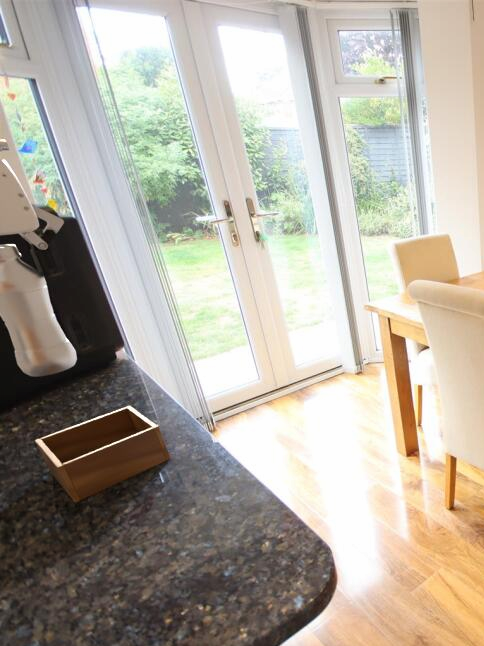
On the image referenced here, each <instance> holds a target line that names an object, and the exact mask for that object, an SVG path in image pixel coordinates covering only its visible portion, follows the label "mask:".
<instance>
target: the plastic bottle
mask: <svg viewBox="0 0 484 646" xmlns="http://www.w3.org/2000/svg"><path fill="white" fill-rule="evenodd" d="M22 257H23V256H22V254H21V253H20V252H19V249H18V247H17V246H16V244H14V243H5V244H0V317H1V319H2V321H3V322H4V325H5V327H6V328H7V330H8V333H9V336H10V339H11V342H12V346H13V349H14V357H15V360H16V364H17V366H18V367H19V368H20V370H21V371H22V372H23V373H24V374H25V375H28V376H29V377H45V376H49V375H50V376H51V375H55V374H59V373H61V372H64V371H66V370H69V369H70V368H71V369H72V367H74V366H76V363H77V361H78V357H77V351H76V349H75V347H74V346H73V344H72V343H71V342H70V340H69V339H68V338H67V336H66V334H65V333H64V331H63V329H62V328H61V325H60V324H59V322H58V320H57V317H56V314H55V313H54V309H53V305H52V303H51V299H50V294H49V289H48V285H47V281H46V278H45V276H42V274H41V273H40V272H39V271H38V269H37V268H36V269H35V268H34V267H33V266H31V265H29V264H27V263H26V262H24V261H23V260H21V259H20V258H22Z"/></svg>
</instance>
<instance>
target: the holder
mask: <svg viewBox="0 0 484 646" xmlns="http://www.w3.org/2000/svg"><path fill="white" fill-rule="evenodd" d="M34 442H35V444H36V446H37V449H38V450H39V452H40V454H41V456H42V458H43V460H44V462H45V464H46V466H47V468H48V470H49V472H50V474H51V475H52V476H53V477H54V479H55V480H56V481H57V482H58V484H59V485H60V486H61V487H62V489H63V490H64V491H65V493H66V494H67V495H68V496H69V498H71V500H72V501H73V503H74V504H75V503H76V504H77V503H78V502H80V501H82V500H85V499H86V498H87V499H88V498H89V497H91V496H94V495H95V494H98V493H100V492H102V491H105V490H106V489H108V488H111V487H113V486H115V485H117V484H120V483H122V482H123V481H126V480H128V479H131V478H132V477H135V476H137V475H140V474H141V473H143V472H146V471H147V470H149V469H152V468H154V467H156V466H158V465H161V464H163V463H165V462H166V461H169V460H172V459H171V456H170V453H169V451H168V448H167V445H166V442H165V439H164V437H163V435H162V431H161V429H160V427H159V425H158V424H156V423H155V422H153V421H152V420H150V419H149V418H148V417H146V416H145V415H144V414H142V413H141V412H139V411H138V410H136V409H135V408H134V407H132V406H131V405H128V406H125V407H122V408H119V409H117V410H113V411H111V412H109V413H106V414H103V415H100V416H97V417H95V418H92V419H89V420H87V421H84V422H81V423H79V424H76V425H73V426H70V427H67V428H65V429H61V430H59V431H56V432H53V433H51V434H48V435H45V436H43V437H40V438H37V439H34Z"/></svg>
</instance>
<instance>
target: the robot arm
mask: <svg viewBox="0 0 484 646" xmlns="http://www.w3.org/2000/svg"><path fill="white" fill-rule="evenodd" d="M3 151H10V146H9V145H8V142H7V140H5V139H0V152H3ZM23 187H24V186H22V183H21V182H20V180H19V178H18V177H17V175H16V173H15V172H14V170H13V169H12V167H11V165H10V164H9V163H8V161H7V160H6V159H0V236H7V235H16V234H18V235H20V236H21V237H22V238H23V239H24V240H25V241H27V242H28V243H29V244H30V247H31V248H30V250H29V252H30V254H31V257H32V259H33V262H34V264H35V267H36V270H37V271H39V272H40V273H41V274H42V276H43V277H46V278H49V277H52V273H51V271H53V270H54V266H53V263H52V261H51V259H50V255H49V254H48V251H47V249H48V247H49V245H50V244H51V242H52V241H53V240H54V238H55V237H56V236H57V233H58V232H59V231H60V230H61V228H62V226H63V225H64V224H65V221H64V219H63V218H60V217H59V216H57V215H55V214H52V213H51V212H48V211H46V210H44V209H42V208H40V207H39V206H36V205H34V204H32V203H31V201H30V198H29V196H28V195H27V193H26V191H25V189H24V188H23ZM39 219H41V220H43V221H45V223H46V226H45V227H44V229H42V231H40V233H39V234H37V233H36V232H35V230H37V229H38V228H39V227H40V222H39V221H40V220H39Z"/></svg>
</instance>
